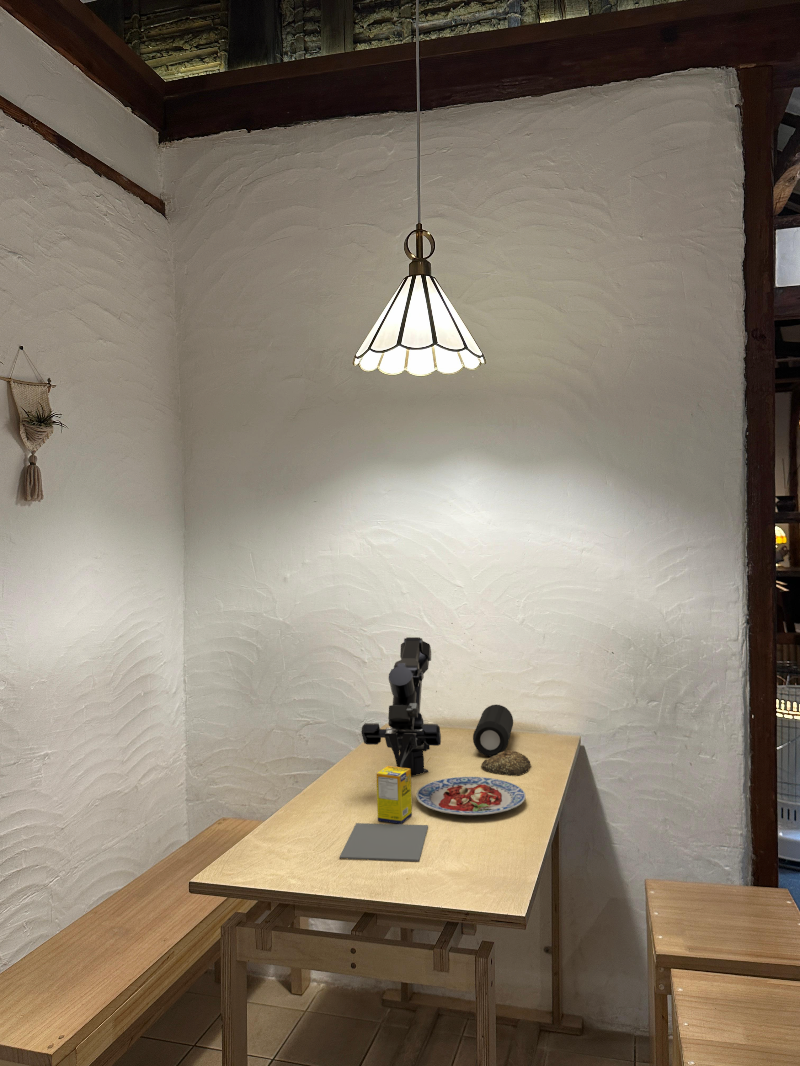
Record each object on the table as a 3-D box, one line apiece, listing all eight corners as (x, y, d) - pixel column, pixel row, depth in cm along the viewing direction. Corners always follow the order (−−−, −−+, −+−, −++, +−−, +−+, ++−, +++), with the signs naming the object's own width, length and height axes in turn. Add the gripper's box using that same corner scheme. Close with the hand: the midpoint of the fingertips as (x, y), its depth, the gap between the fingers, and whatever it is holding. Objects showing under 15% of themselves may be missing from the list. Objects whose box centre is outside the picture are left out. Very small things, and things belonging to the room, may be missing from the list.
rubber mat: (356, 824, 182) (356, 823, 182) (428, 826, 180) (428, 825, 180) (339, 858, 164) (339, 856, 164) (419, 861, 162) (419, 859, 162)
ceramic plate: (416, 785, 208) (416, 774, 208) (519, 784, 208) (518, 772, 208) (415, 824, 183) (415, 810, 183) (532, 822, 182) (532, 809, 182)
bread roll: (516, 779, 212) (516, 760, 212) (475, 771, 219) (475, 752, 219) (539, 766, 222) (539, 748, 222) (500, 759, 229) (499, 741, 229)
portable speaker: (482, 734, 255) (481, 702, 255) (514, 735, 253) (513, 703, 253) (472, 758, 230) (471, 723, 230) (508, 760, 228) (507, 724, 228)
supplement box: (412, 815, 187) (411, 767, 187) (401, 825, 182) (400, 775, 182) (388, 812, 190) (387, 765, 189) (377, 821, 184) (376, 772, 184)
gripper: (361, 690, 199) (354, 748, 189) (438, 690, 197) (435, 749, 186) (368, 715, 207) (361, 772, 197) (442, 715, 205) (439, 773, 194)
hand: (398, 766), depth 193 cm, fingers closed
